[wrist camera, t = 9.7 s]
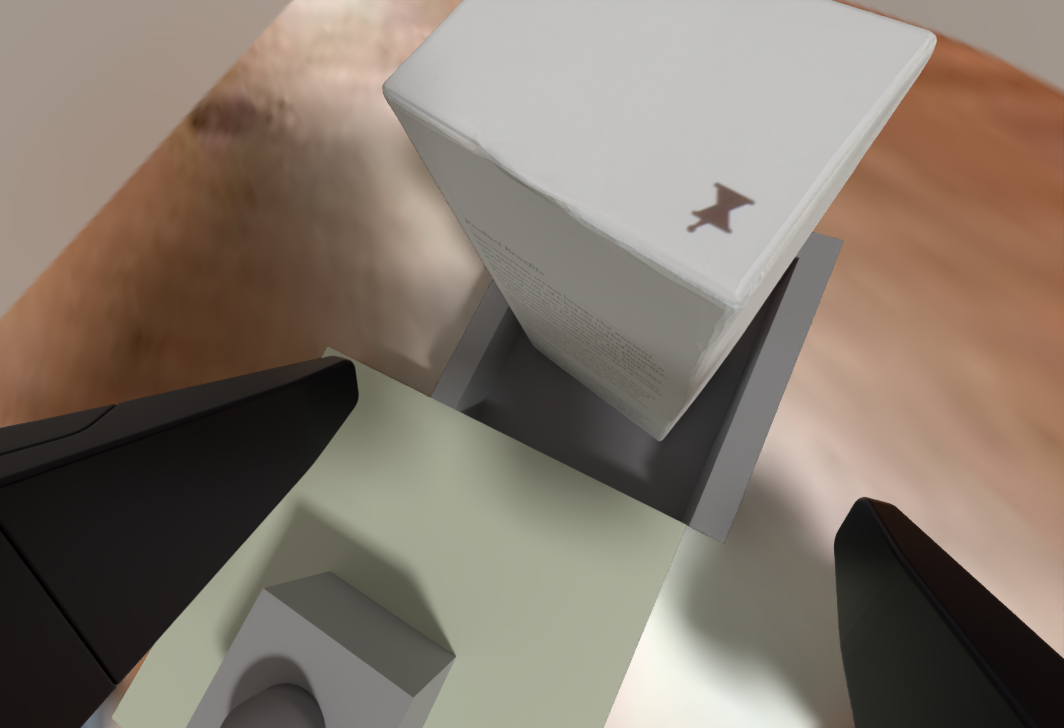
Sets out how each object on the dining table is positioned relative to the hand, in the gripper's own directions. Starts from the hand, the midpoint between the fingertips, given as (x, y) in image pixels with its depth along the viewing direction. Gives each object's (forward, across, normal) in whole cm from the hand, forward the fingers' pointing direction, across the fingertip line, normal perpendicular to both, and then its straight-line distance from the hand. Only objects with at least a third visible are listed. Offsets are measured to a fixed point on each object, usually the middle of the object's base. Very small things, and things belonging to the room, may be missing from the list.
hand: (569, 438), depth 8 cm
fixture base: (+5, +4, +7) cm, 10 cm away
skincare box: (+9, 0, +3) cm, 10 cm away
